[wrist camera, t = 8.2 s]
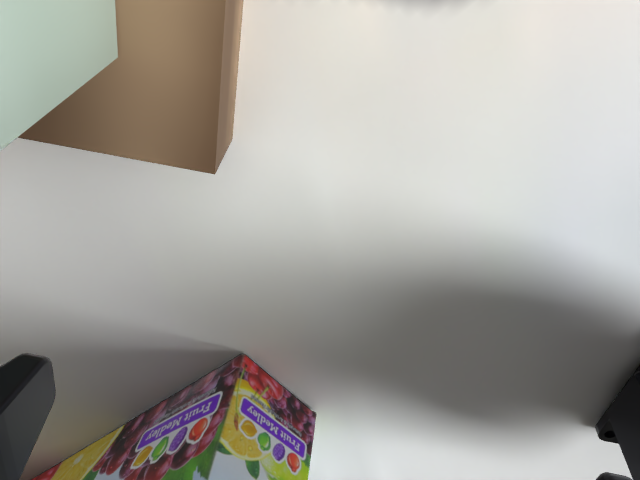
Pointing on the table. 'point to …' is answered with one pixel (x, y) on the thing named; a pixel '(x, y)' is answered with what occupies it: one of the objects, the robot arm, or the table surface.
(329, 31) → the table surface
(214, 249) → the table surface
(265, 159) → the table surface
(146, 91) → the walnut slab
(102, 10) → the sage box
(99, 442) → the snack box
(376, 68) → the table surface
